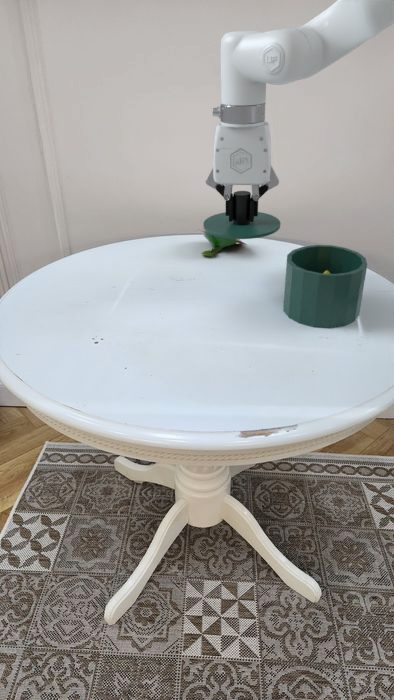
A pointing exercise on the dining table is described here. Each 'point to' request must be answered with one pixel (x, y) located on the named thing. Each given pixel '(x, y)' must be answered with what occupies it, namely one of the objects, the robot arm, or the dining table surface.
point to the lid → (241, 221)
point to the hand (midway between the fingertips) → (241, 218)
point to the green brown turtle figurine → (217, 243)
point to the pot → (324, 285)
